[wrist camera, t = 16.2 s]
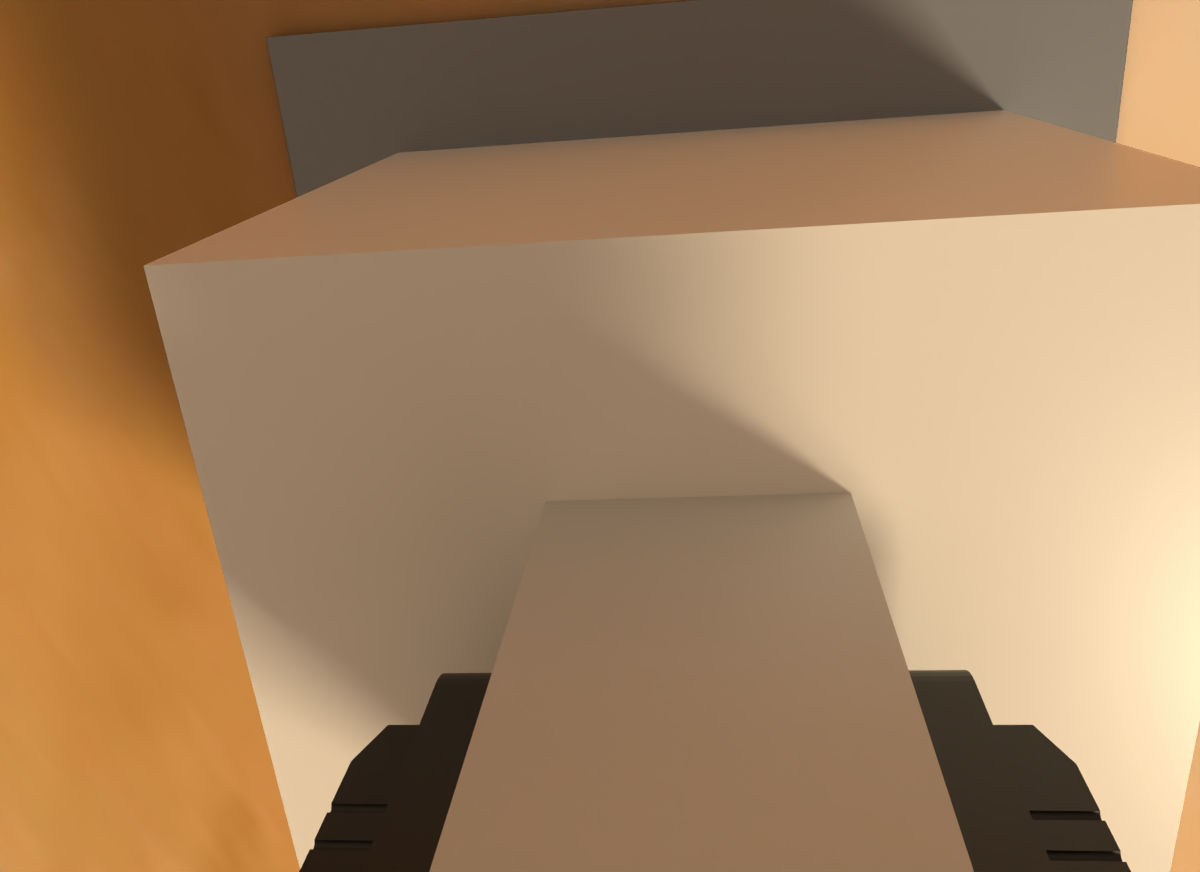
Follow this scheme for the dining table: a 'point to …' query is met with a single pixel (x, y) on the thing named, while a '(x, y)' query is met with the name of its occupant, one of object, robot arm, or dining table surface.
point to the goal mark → (690, 73)
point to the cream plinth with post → (713, 479)
